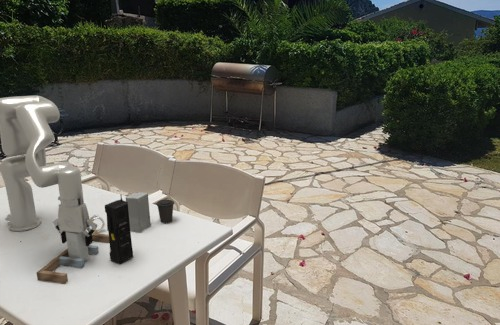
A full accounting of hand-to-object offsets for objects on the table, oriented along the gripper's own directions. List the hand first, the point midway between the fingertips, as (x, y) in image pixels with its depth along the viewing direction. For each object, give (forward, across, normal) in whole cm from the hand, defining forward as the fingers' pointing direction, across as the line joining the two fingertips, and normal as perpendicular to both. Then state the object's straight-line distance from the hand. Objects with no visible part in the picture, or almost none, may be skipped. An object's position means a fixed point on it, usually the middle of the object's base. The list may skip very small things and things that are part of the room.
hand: (77, 243), depth 139 cm
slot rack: (+7, 0, 0) cm, 7 cm away
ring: (+7, -5, +21) cm, 23 cm away
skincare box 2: (+7, +11, +29) cm, 31 cm away
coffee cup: (+7, +20, +38) cm, 43 cm away
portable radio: (+7, +16, +3) cm, 17 cm away
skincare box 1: (+7, 0, 0) cm, 7 cm away
